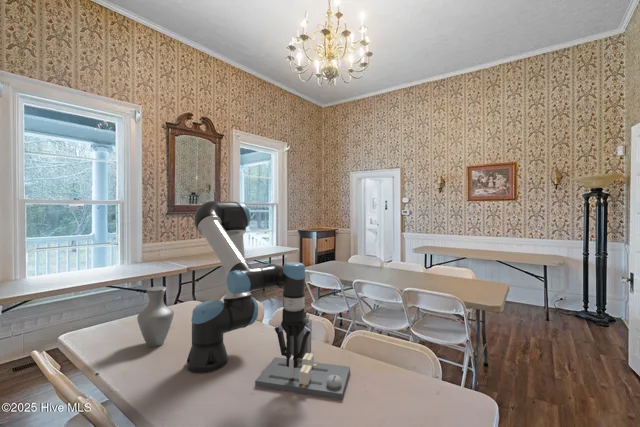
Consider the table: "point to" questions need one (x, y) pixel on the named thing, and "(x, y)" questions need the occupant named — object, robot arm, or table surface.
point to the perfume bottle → (308, 345)
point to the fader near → (305, 374)
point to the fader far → (308, 359)
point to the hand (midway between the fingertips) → (292, 376)
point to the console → (322, 384)
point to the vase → (155, 318)
